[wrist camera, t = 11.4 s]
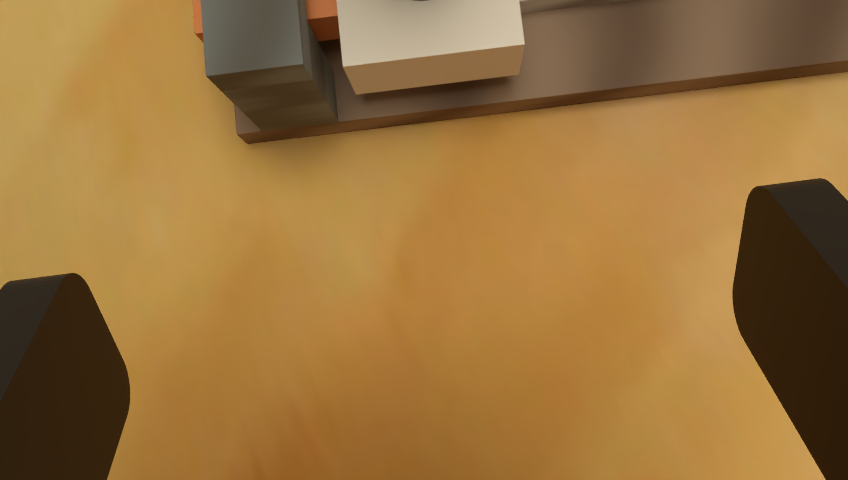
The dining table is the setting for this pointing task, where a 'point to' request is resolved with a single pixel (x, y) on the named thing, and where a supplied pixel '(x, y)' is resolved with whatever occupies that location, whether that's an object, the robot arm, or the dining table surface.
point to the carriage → (428, 42)
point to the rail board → (540, 67)
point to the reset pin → (318, 16)
